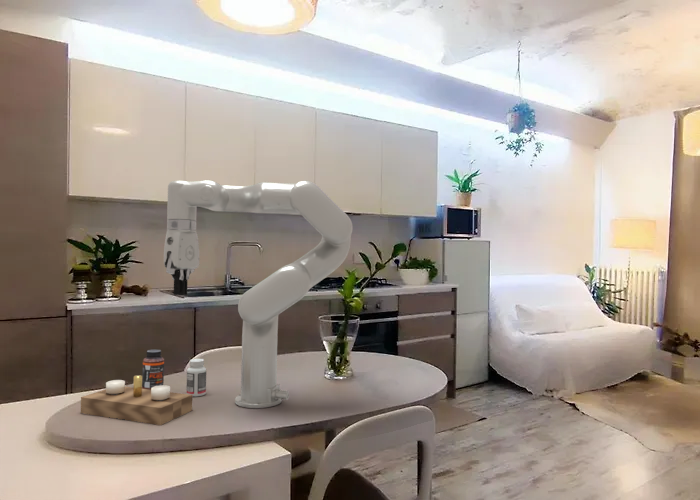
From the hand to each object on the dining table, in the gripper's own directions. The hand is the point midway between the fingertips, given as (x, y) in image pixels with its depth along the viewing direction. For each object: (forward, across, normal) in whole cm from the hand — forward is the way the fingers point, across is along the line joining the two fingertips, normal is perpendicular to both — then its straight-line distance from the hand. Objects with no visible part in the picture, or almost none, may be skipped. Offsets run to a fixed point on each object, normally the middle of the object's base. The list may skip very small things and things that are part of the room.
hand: (180, 294), depth 137 cm
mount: (+29, -11, +4) cm, 31 cm away
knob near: (+28, -11, -3) cm, 30 cm away
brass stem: (+25, -11, +4) cm, 28 cm away
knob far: (+28, -11, +11) cm, 32 cm away
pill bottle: (+29, +8, 0) cm, 30 cm away
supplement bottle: (+29, +8, +15) cm, 34 cm away
